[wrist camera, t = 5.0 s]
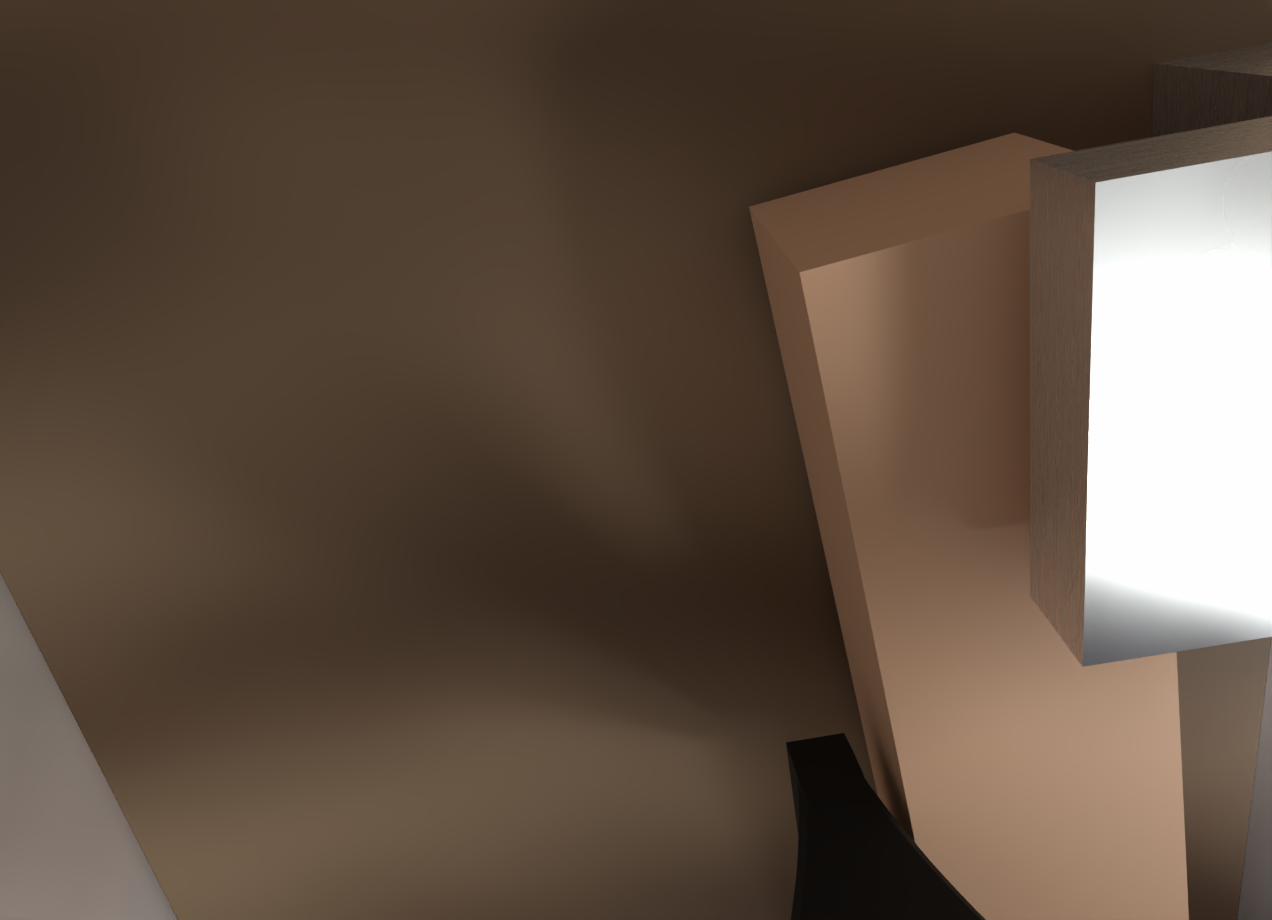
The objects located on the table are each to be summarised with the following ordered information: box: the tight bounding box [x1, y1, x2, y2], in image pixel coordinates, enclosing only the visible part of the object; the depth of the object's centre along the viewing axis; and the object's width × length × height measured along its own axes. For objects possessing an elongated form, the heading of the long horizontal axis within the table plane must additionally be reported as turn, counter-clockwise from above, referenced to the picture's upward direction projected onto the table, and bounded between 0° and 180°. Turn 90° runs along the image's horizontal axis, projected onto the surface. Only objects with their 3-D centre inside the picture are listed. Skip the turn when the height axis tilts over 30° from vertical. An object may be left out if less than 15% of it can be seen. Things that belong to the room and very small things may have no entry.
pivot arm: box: [749, 133, 1189, 920], centre depth 12 cm, size 15×4×4 cm, turn 15°
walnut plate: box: [0, 0, 1272, 920], centre depth 14 cm, size 20×17×1 cm
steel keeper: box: [1030, 43, 1272, 667], centre depth 10 cm, size 4×5×5 cm
